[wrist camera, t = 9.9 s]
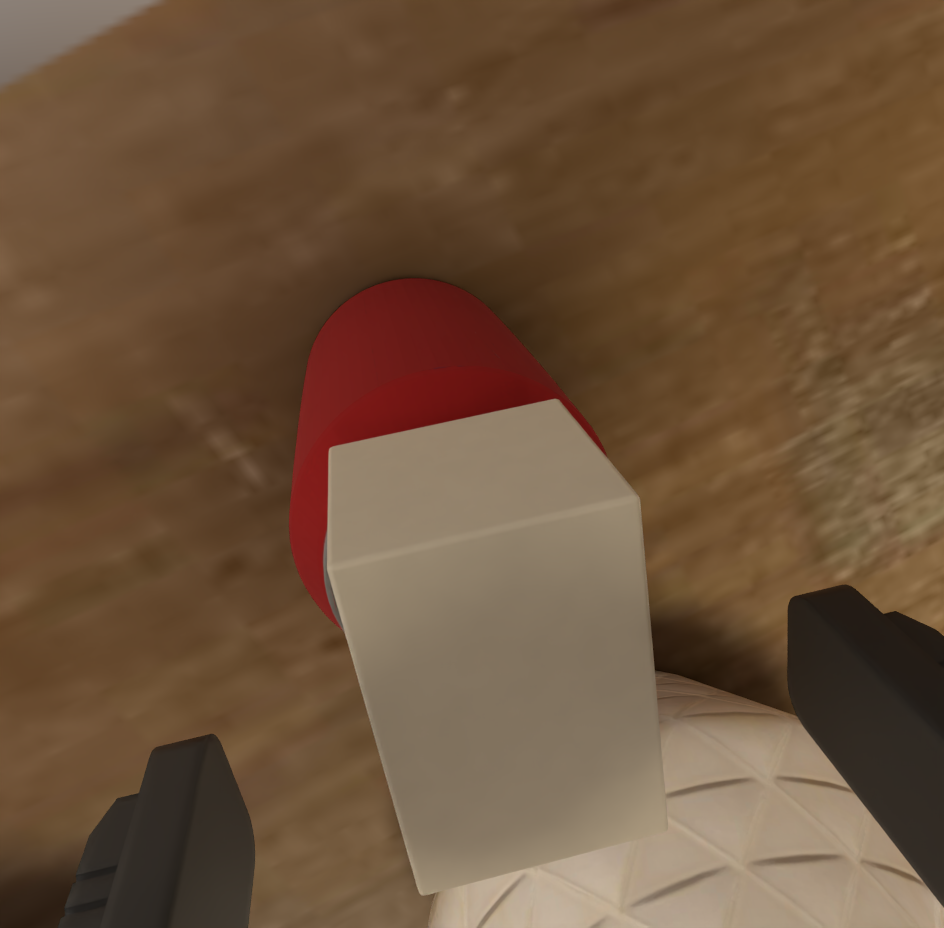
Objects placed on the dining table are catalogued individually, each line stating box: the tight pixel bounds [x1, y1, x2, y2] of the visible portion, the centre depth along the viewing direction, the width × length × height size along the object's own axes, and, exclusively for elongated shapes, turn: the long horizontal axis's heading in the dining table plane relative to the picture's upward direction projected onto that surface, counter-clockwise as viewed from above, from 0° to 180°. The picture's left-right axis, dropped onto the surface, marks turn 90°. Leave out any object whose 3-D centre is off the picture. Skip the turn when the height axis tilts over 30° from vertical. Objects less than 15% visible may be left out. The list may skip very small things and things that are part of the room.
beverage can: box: [289, 278, 608, 633], centre depth 20 cm, size 7×7×12 cm
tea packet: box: [327, 399, 668, 895], centre depth 13 cm, size 6×4×4 cm, turn 10°
